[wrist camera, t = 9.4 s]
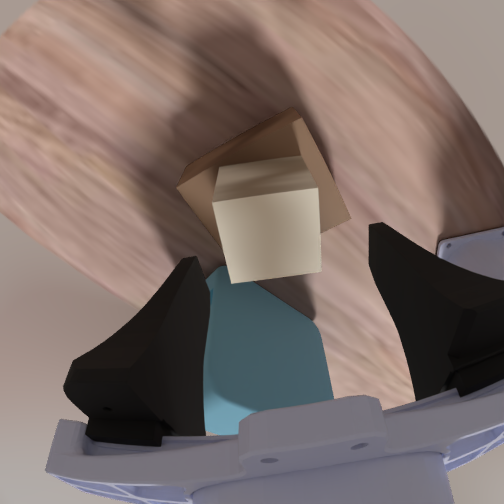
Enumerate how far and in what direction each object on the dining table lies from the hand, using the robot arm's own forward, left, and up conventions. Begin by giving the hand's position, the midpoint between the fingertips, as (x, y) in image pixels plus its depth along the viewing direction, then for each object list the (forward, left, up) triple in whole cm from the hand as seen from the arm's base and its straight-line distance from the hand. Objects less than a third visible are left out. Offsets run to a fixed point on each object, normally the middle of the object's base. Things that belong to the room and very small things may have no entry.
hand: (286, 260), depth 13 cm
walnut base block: (+1, 0, -10) cm, 10 cm away
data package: (+3, +12, -10) cm, 16 cm away
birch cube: (+1, 0, -6) cm, 6 cm away
